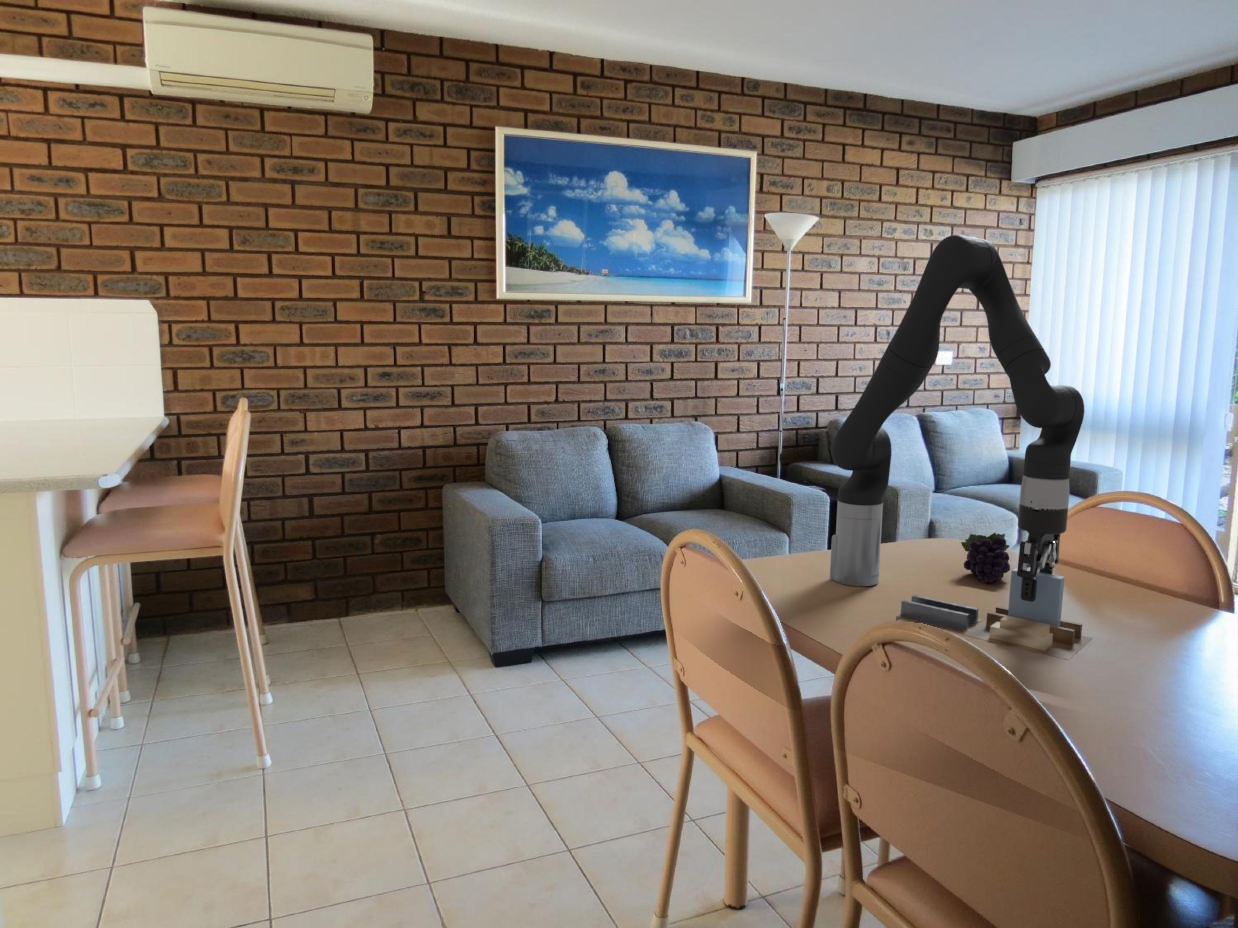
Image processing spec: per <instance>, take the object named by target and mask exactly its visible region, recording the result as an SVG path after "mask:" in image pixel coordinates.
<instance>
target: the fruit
mask: <svg viewBox="0 0 1238 928" xmlns="http://www.w3.org/2000/svg"><path fill="white" fill-rule="evenodd" d="M1005 537H1006V533H1002V534H1001V533H997V532H993V533H992V534H990V535H989V536H986V534H985V535H982V534H975V533H974V534H972V533H970V534H969V536H968V538H967V539H964V541H960V543H961V546H962V547H963V548H962V549H964V551H965V552H967V554H966V560H965V561H964V563H963V568H964V569H965V570H966V571H970V573H971V574H973V575H974V576H977V577H978V579H979V581H980V580H981V582H982V583H986V584H987V583H993V582H994V581H995V580H1000V579H1002V578H1004V575H1005V574H1007V573H1008V572H1009V571H1011V565H1010V563H1009V560H1010V555H1009V553H1008V552H1007V549H1009V547H1010V545H1009V544H1007V540H1006V539H1005Z"/></svg>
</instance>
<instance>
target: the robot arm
mask: <svg viewBox="0 0 1238 928" xmlns="http://www.w3.org/2000/svg"><path fill="white" fill-rule="evenodd" d="M959 289H964V290H969V292H971V294H972V295H973V296H974V297H975V298H976V299H977V301H978V302H979V304H980V305H981V306H982V309H983V310H984V313H985V316H986V319H987V327H988V328H987V330H988V337H989V343H990V346H991V348H992V351H993V353H994V354H995V356H996V358H997V360H998V362H999V363H1000V365H1001V368H1002V369H1003V371H1004V372H1005V374H1006V375H1007V378H1009V383H1010V388H1011V392H1012V396H1013V399H1014V403H1015V406H1016V409H1017V412H1018V413H1019V415H1020V417H1021V418H1022V420H1024V421H1025V422H1026V423H1027V424H1028V425H1029V426H1031V427H1033V428H1036V429H1037V428H1038V429H1041V430H1040V434H1039V436H1038V438H1037V439H1035V440H1034V441H1032V442H1030V443H1029V444H1028V445H1027V446H1026V447H1025V448H1026V449H1025V453H1024V461H1023V475H1022V481H1021V485H1020V492H1019V504H1018V516H1017V518H1018V519H1017V526H1018V528H1019V530H1022V531H1026V532H1027V533H1028V536H1027V540H1025V541H1021V540H1020V541H1021V542H1020V543H1019V553H1018V562H1017V568H1018V570H1017V576H1019V577H1021V578H1022V587H1021V599H1022V600H1025V601H1030V602H1033V601H1035V599H1036V589H1037V579H1038V575H1039V572H1040V573H1046V574H1052V575H1054V573H1053V571H1054V570H1055V568H1056V565H1058V564H1059V561H1060V560H1059V558H1060V556H1059V555H1060V542H1061V541H1060V540H1061V534H1063V533H1066V532H1067V527H1068V525H1067V524H1068V516H1069V503H1070V475H1071V473H1070V472H1071V471H1070V470H1071V459H1072V452H1073V450H1074V447H1075V445H1076V443H1077V441H1078V438H1079V437H1078V436H1079V434H1080V430H1081V428H1082V424H1083V423H1084V422H1083V420H1084V416H1085V403H1084V398H1083V397H1082V394H1081V393H1080V391H1079V390H1078V389H1076V388H1075V387H1073V386H1071V385H1065V384H1062V385H1061V384H1060V385H1050V383H1049V381H1048V380H1047V377H1046V375H1047V373H1048V372H1049V371H1050V369H1051V365H1052V363H1051V360H1050V357H1049V355H1048V353H1047V352H1046V350H1045V349H1044V347H1043V345H1042V344H1041V342H1040V340H1039V338H1038V337H1037V336H1036V334H1035V332H1034V331H1033V329H1032V328H1031V326H1030V324H1029V323H1028V322H1029V321H1028V320H1027V318H1026V317H1025V315H1024V313H1023V311H1022V308H1021V307H1020V304H1019V301H1018V300H1017V299H1018V298H1017V297H1016V295H1015V292H1014V290H1013V287H1012V285H1011V283H1010V280H1009V277H1008V274H1007V272H1006V269H1005V267H1004V264H1003V261H1002V258H1001V256H1000V254H999V252H998V250H997V248H996V246H995V245H994V244H993V243H991V242H990V241H989V240H986V239H984V238H979V237H974V236H969V235H960V234H951V235H949V236H947V237H944V238H943V239H942V240H941V241H940V242H939V243H938V244H937V245H936V246H935V248H934V249H933V250H932V253H931V254H930V257H929V259H928V261H927V263H926V265H925V268H924V271H923V273H922V275H921V278H920V280H919V283H918V285H917V287H916V290H915V292H914V295H913V297H912V299H911V301H910V304H909V305H908V307H907V310H906V311H905V313H904V315H903V318H902V320H901V321H900V324H899V325H898V327H897V329H896V331H895V333H894V334H893V337H892V338H891V340H890V341H889V343H888V345H887V347H886V349H885V351H884V352H883V354H882V356H881V358H880V361H878V364H877V366H876V369H874V372H873V374H872V376H871V378H870V380H869V381H868V383H867V385H866V387H865V388H864V389H863V390H864V391H863V392H862V394H861V396H860V397H859V399H858V401H857V403H856V404H855V406H854V407H853V408H852V410H851V412H849V414H848V416H847V417H846V419H845V421H843V423H842V425H841V426H840V428H839V429H838V431H837V432H836V434H835V436H834V438H833V442H832V447H831V453H832V454H831V455H832V459H833V462H834V463H835V465H836V466H837V467H838V468H840V469H842V470H845V471H852V472H851V475H850V476H849V477H848V480H846V481H845V482H844V483H843V484H841V485H840V486H839V488H838V489H837V506H836V507H837V509H836V525H835V526H836V528H835V533H834V534H833V535H832V536H831V543H830V544H831V545H830V547H831V549H830V566H829V567H830V568H829V579H830V580H834V581H835V582H837V583H839V584H842V585H847V586H853V587H872V586H876V585H878V583H879V582H880V581H879V580H880V579H879V577H880V563H881V561H880V560H881V547H882V546H881V545H882V544H881V543H882V542H881V541H882V530H883V529H882V526H883V509H884V498H885V497H884V496H885V494H886V492H887V490H888V487H889V482H890V481H889V479H890V474H891V473H890V472H891V463H892V443H891V438H890V436H889V433H888V432H887V431H886V429H884V428H883V425H884V423H885V421H886V420H887V419H888V418H889V417H890V416H891V415H892V414H893V413H894V412H895V411H896V410H898V408H900V407H901V406H902V405H903V404H904V403H905V402H906V401H908V399H910V398H911V397H912V396H914V394H915V393H916V392H917V391H918V390H919V388H920V387H921V385H922V384H923V383H924V382H925V380H926V378H927V376H928V374H929V373H930V371H931V369H932V368H933V366H934V365H935V362H936V361H937V358H938V355H939V350H940V341H941V335H940V334H941V323H942V318H943V316H944V314H945V311H946V309H947V307H948V305H949V304H950V302H951V300H952V298H953V297H954V295H955V294H956V292H957V291H958V290H959ZM1028 568H1029V571H1027V570H1028Z"/></svg>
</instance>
